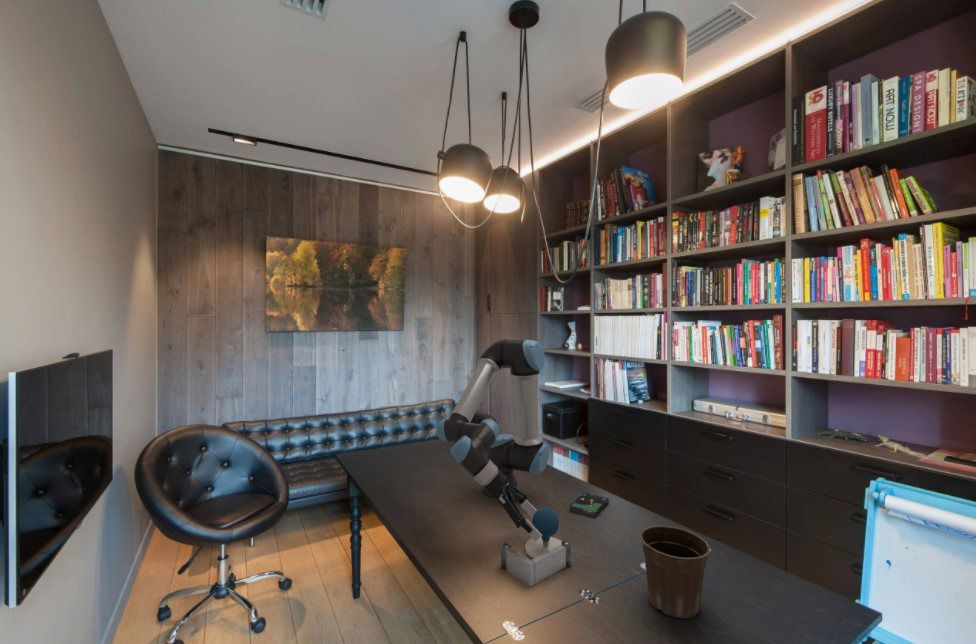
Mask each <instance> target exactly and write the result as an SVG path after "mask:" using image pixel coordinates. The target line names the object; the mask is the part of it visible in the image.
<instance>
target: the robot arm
mask: <svg viewBox="0 0 976 644" xmlns="http://www.w3.org/2000/svg"><path fill="white" fill-rule="evenodd" d="M545 355H546V354H545V352H544V348H543V346H542V345H541V343H540V342H539V341H537V340H532V339H507V338H505V339H504V338H503V339H500V340H497V341H495V342H493V343H492V344H491V345H490V346H488V347H487V348H486V349H485V350H484V351H483V352H482V353H481V355H480V357H479V359H478V360H477V362H476V364H477V367H476V369H475V370H474V372H473V374H472V376H471V377H470V380H469V381H468V383H467V384H466V387H465V389H464V390H463V392H462V394H461V396H460V398H459V400H458V402H457V403H456V405H455V406H454V408H453V410H452V412H451V414H450V416H449V417H448V418H442V419H441V420H439V421H438V423H437V425H436V429H435V430H436V431H435V432H436V436H437V438H438V439H439V440H441V441H443V442H447V443H454V444H453V445H452V447H451V448H450V454H451V455H452V457H453V458H454V459H455V460H456V462H457V463H458V464H460V465H461V467H462V468H463V469H464V470H466V471H467V473H468V474H469V475H470V476H471V477H472V478H473V481H474V482H477V483H479V485H480V486H482V488H481V489H482V493H483V494H484V495H486V496H488V497H491V498H497V503H498V504H500V505H501V507H502V508H503V509H504V511H505V513H507V515H508V517H510V520H512V522H513V524H514V525H515V527H516V528H517V529H519V528H520V527H521V529H523V530H524V532H525V533H526V534H528V536H529V537H530V539H531V538H532V539H533V540H534V541H535V542H536V541H537V540H538V539H539V538H540V537H541V536H542V534H541V533H540V532H539V531H538V530H537V529H536V528H535V527H534V526H533V524H532V522H530V521H529V519H528V518H525V517H524V515H523V513H522V512H521V510H520V508H522V509H523V510H524V511H525V512H526V513H527V515H529V517H530V518H531V519H533V516H534V514H535V512H536V511H537V509H536V508H535V507H534V506H533V505H532V504H531V503H530V502H529V501H528V495H526V494H525V493H524V492H522V491H521V490H520V489H519V485H518V482H517V478H516V474H515V471H518V472H524V473H527V474H528V473H529V474H535V475H536V474H537V475H539V474H542V473H543V472H544V471H545V469H546V468H547V465H548V462H549V457H550V448H549V446H548V445H546V444H544V439H543V437H542V436H541V435H540V432H539V430H540V428H539V427H540V425H539V408H538V407H539V406H538V390H537V389H538V387H537V377H538V376H539V375H540V374H541V373H540V371H541V370H543V369H544V367H545V361H546V357H545ZM502 369H510V375H511V377H513V378H514V393H515V408H516V409H515V411H516V428H517V430H516V431H517V435H516V436H515V437H514V435H513V434H511V433H509V434H508V433H502V434H501V433H500V432H501V431H500V430H501V429H500V427H499V425H498V424H497V422H496V421H495V420H493V419H491V418H485V419H483V420H481V421H480V422H479V423H475V422H472V420H473V418H474V415H475V414H476V412H477V410H478V408H479V406H480V405H481V402H482V400H483V398H484V396H485V395H486V393H487V391H488V389H489V387H490V385H491V383H492V381H493V379H494V377H495V376H497V375H498V374H499V373H500V371H501V370H502ZM516 503H518V504H520V508H519V507H518V505H517V504H516Z"/></svg>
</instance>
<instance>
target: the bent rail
mask: <svg viewBox="0 0 976 644" xmlns="http://www.w3.org/2000/svg"><path fill="white" fill-rule="evenodd" d="M561 541H562V544H561V545H559V546H557V547H555V548H553V549H551V550H549V551H547V552H546V553H544V554H542V555H540V556H538V557H536V558H534V559H533V558H531V559H529V558H527V557H526V556H525V555H523V554H521V553H520V552H518V551H516V550H514V549H513V548H511V545H510V543H506V542H505V543H501V545H500V569H502V570H503V571H507V572H508V573H509V574H511V575H512V576H514V577H515V578H517V579H518V580H519V581H521V582H523V583H524V584H525V585H527V586H528V587H530V588H531V587H533V586H535V585H536V584H538V583H540V582H542V581H544V580H546V579H547V578H548V577H550V576H552V575H555V574H556V573H558V572H559V571H560V570H563V569H565V568H569V567H571V566H572V542H571V541H570V540H568V539H566V540H565V539H564V540H561Z"/></svg>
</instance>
